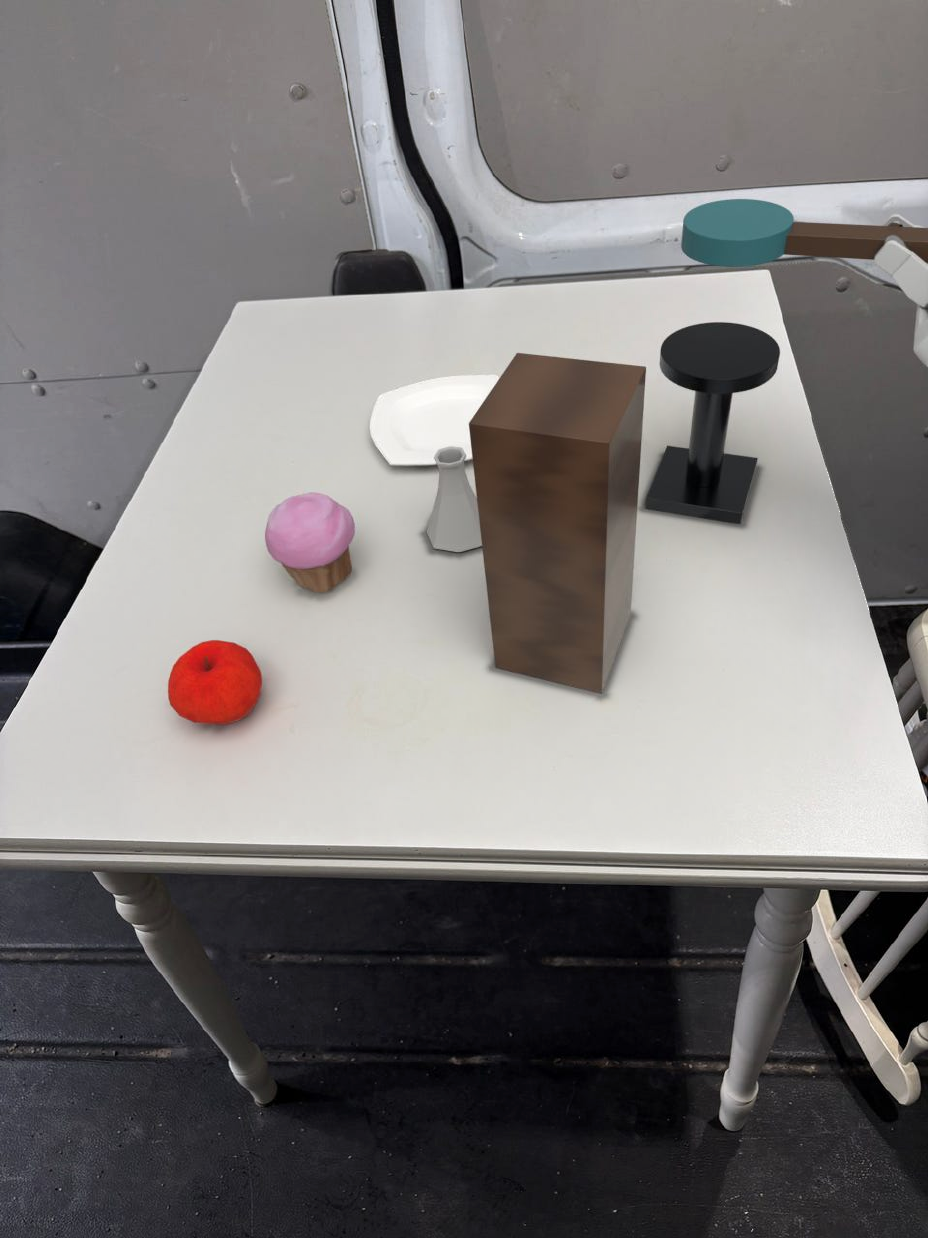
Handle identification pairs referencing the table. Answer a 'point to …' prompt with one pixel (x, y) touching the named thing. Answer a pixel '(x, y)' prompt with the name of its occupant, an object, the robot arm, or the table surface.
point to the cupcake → (311, 540)
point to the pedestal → (559, 513)
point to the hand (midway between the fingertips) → (882, 235)
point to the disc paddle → (780, 235)
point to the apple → (214, 683)
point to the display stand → (711, 418)
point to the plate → (428, 417)
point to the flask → (454, 505)
